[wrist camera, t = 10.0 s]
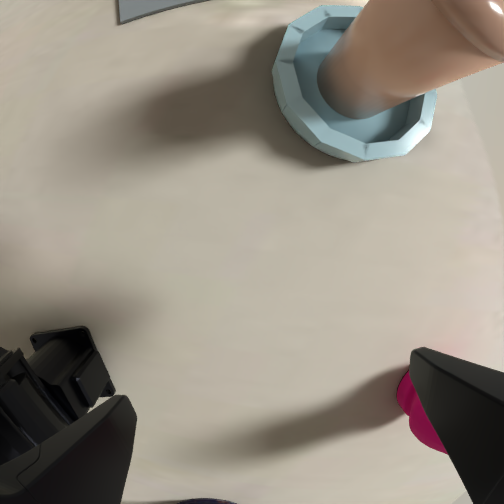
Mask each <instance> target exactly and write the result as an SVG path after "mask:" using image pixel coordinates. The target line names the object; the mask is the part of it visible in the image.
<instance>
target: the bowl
mask: <svg viewBox="0 0 504 504" xmlns="http://www.w3.org/2000/svg"><path fill="white" fill-rule="evenodd" d="M362 9H363V7H360V6H337V5H321V6H319V7H317V8H315V9H314V10H312V11H310V12H308V13H307V14H305V15H303V16H302V17H300V18H298V19H297V20H295V21H293V22H292V23H290V24H289V25H288V28H287V30H286V33H285V36H284V38H283V41H282V44H281V46H280V49H279V52H278V54H277V57H276V60H275V63H274V66H273V68H272V76H273V87H274V92H275V96H276V99H277V103H278V105H279V107H280V110H281V112H282V114H283V115H284V117H285V119H286V120H287V122H288V123H289V124H290V126H291V127H292V128H293V129H294V131H295V132H296V133H297V134H298V135H299V136H300V137H301V138H302V139H304V140H305V141H306V142H307V143H309V144H310V145H311V146H313V147H314V148H316V149H318V150H319V151H321V152H323V153H325V154H328V155H330V156H333V157H336V158H339V159H343V160H348V161H351V162H354V163H355V162H361V161H369V160H375V159H382V158H389V157H396V156H402V155H406V154H407V153H408V152H409V151H410V150H411V149H412V148H413V147H414V146H415V145H416V144H417V143H418V142H419V141H420V140H421V139H422V138H423V137H424V136H425V135H426V134H427V133H428V132H429V131H430V130H431V125H432V120H433V115H434V110H435V104H436V98H437V92H436V89H434V90H431V91H429V92H426V93H424V94H422V95H419V96H417V97H415V98H412V99H410V100H408V101H406V102H403V103H401V104H399V105H397V106H394V107H392V108H390V109H388V110H386V111H383V112H381V113H379V114H377V115H375V116H373V117H370V118H367V119H352V118H348V117H345V116H343V115H341V114H339V113H337V112H336V111H335V110H333V109H332V108H331V107H330V106H329V105H328V104H327V103H326V102H325V100H324V99H323V97H322V95H321V93H320V91H319V88H318V84H317V72H318V68H319V66H320V64H321V62H322V61H323V60H324V58H325V57H326V56H327V54H328V53H329V52H330V50H331V49H332V48H333V46H334V45H335V44H336V42H337V41H338V40H339V38H340V37H341V36H342V34H343V33H344V32H345V31H346V29H347V28H348V27H349V25H350V24H351V23H352V22H353V20H354V19H355V18H356V16H357V15H358V14H359V13H360V11H361V10H362Z"/></svg>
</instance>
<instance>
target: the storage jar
mask: <svg viewBox="0 0 504 504" xmlns="http://www.w3.org/2000/svg"><path fill="white" fill-rule="evenodd" d="M177 504H237V503H234V502H230V501H226V500H220V499H210V498H198V499H190V500H185V501H182V502H179V503H177Z"/></svg>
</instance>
